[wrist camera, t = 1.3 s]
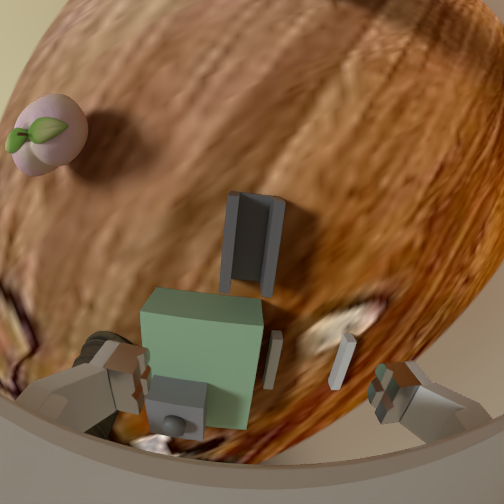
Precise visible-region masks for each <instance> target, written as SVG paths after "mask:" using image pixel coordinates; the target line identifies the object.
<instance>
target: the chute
mask: <svg viewBox="0 0 504 504" xmlns="http://www.w3.org/2000/svg"><path fill="white" fill-rule="evenodd" d="M285 204H286V202H285V201H284V200H283V199H282V198H281V197H278V196H270V195H262V194H253V193H244V192H235V191H230V193H229V194H228V197H227V207H226V217H225V227H224V237H223V248H222V260H221V271H220V283H219V292H220V293H230V285H231V279H240V280H250V281H260V289H261V297H270V298H272V294H273V287H274V281H275V274H276V268H277V261H278V254H279V247H280V240H281V233H282V226H283V219H284V212H285Z"/></svg>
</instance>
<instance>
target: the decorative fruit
mask: <svg viewBox="0 0 504 504" xmlns="http://www.w3.org/2000/svg"><path fill="white" fill-rule="evenodd" d="M87 136H88V123H87V119H86V117H85V115H84V113H83V111H82V110H81V108H80V107H79V106H78V104H77V103H76V102H75V101H74V100H72V99H71V98H70V97H68V96H66V95H63V94H49V95H45V96H43V97H41V98H39V99H37V100H35V101H34V102H32V103H31V104H30V105H29V106H27V107H26V108H25V109H24V110H23V112H22V113H21V114H20V116H19V118H18V119H17V122H16V124H15V127H14V129H13V130H12V131H11V132H10V134H9V135H8V137H7V140H6V144H5V150H6V151H7V152H8V153H12V156H13V159H14V162H15V164H16V165H17V167H18V168H19V169H20V170H21V171H22V172H23V173H25V174H27V175H29V176H41V175H44V174H46V173H49V172H51V171H53V170H55V169H56V168H57V167H59V166H62V165H66V164H68V163H69V162H71V161H72V160H73V159H75V158H76V157H77V156H78V154H79V153H80V152H81V150H82V149H83V147H84V145H85V143H86V140H87Z"/></svg>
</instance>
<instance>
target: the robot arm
mask: <svg viewBox="0 0 504 504" xmlns="http://www.w3.org/2000/svg"><path fill="white" fill-rule="evenodd" d="M150 359H151V358H150V350H149V349H148V348H145V347H140V346H136V345H131V344H127V343H121V342H118V341H113V340H107V341H106V342H105V343H104V345H103V346H102V347H101V348H100V350H99V351H98V352H97V354H96V355H95V356H94V358H93V359H92V360H91V361H90V363H89V364H87V363H84V364H81V365H78V366H76V367H73V368H70V369H67V370H65V371H62V372H59V373H56V374H53V375H51V376H48V377H45V378H42V379H39V380H36V381H33V382H31V383H30V384H29V385H28V387H27V388H26V389H25V390H24V391H23V392H22V393H21V395H20V396H19V397H18V398H17V399H16V401H15V402H14V401H12V400H10V399H9V398H7V397H5V396H3V395H2V394H0V504H504V414H503V415H501V416H499V417H497V418H495V419H492V417H490V415H489V414H488V413H487V412H486V410H485V409H484V408H483V407H482V406H481V405H480V403H478V402H476V401H474V400H471V399H469V398H467V397H465V396H463V395H461V394H458V393H456V392H454V391H452V390H450V389H448V388H446V387H443V386H441V385H439V384H437V383H432V382H431V380H430V379H429V378H428V377H427V375H426V374H425V373H424V372H423V371H422V369H421V368H420V367H419V366H418V365H417V363H416V362H414V361H403V362H396V363H382V364H379V365H378V366H377V368H376V370H375V375H376V378H374V379H373V380H372V381H371V383H370V385H369V388H368V399H369V402H370V404H371V405H372V406H374V407H375V408H376V411H375V414H376V416H377V418H378V420H379V422H380V424H388V423H395V422H400V424H402V425H403V426H404V427H406V428H407V429H408V430H410V431H411V432H412V433H413V434H415V435H416V436H417V437H419V438H420V439H421V440H422V441H424V442H425V443H426V444H424V445H421V446H417V447H413V448H409V449H405V450H401V451H397V452H393V453H388V454H383V455H378V456H372V457H367V458H360V459H353V460H347V461H338V462H328V463H318V464H300V465H247V464H230V463H219V462H209V461H201V460H193V459H186V458H180V457H174V456H169V455H164V454H159V453H154V452H149V451H145V450H141V449H136V448H132V447H129V446H125V445H121V444H118V443H114V442H111V441H108V440H104V439H101V438H98V437H95V436H92V435H89V434H86V433H84V432H85V431H87V430H88V429H90V428H91V427H93V426H94V425H96V424H97V423H99V422H100V421H102V420H103V419H105V418H106V417H108V416H109V415H111V414H112V413H114V412H115V411H116V410H120V411H124V412H128V413H133V414H138V415H140V412H141V410H142V407H143V405H144V402H145V401H144V395H146V394H148V392H149V390H150V386H151V381H152V370H151V367H150V366H149V365H148V363H149V361H150Z"/></svg>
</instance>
